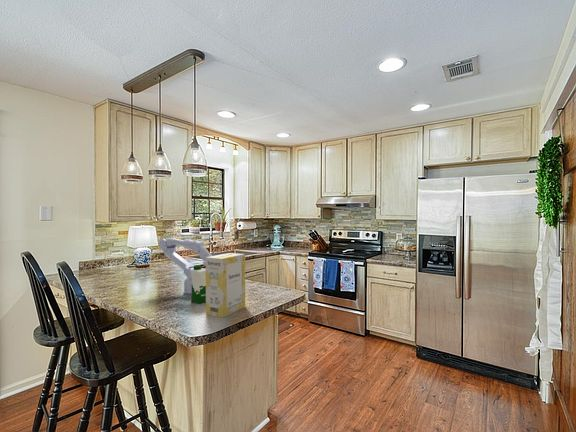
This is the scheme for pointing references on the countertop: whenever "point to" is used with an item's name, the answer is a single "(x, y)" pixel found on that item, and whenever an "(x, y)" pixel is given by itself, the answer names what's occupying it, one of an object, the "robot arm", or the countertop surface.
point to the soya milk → (198, 284)
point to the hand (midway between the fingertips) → (219, 272)
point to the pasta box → (225, 284)
